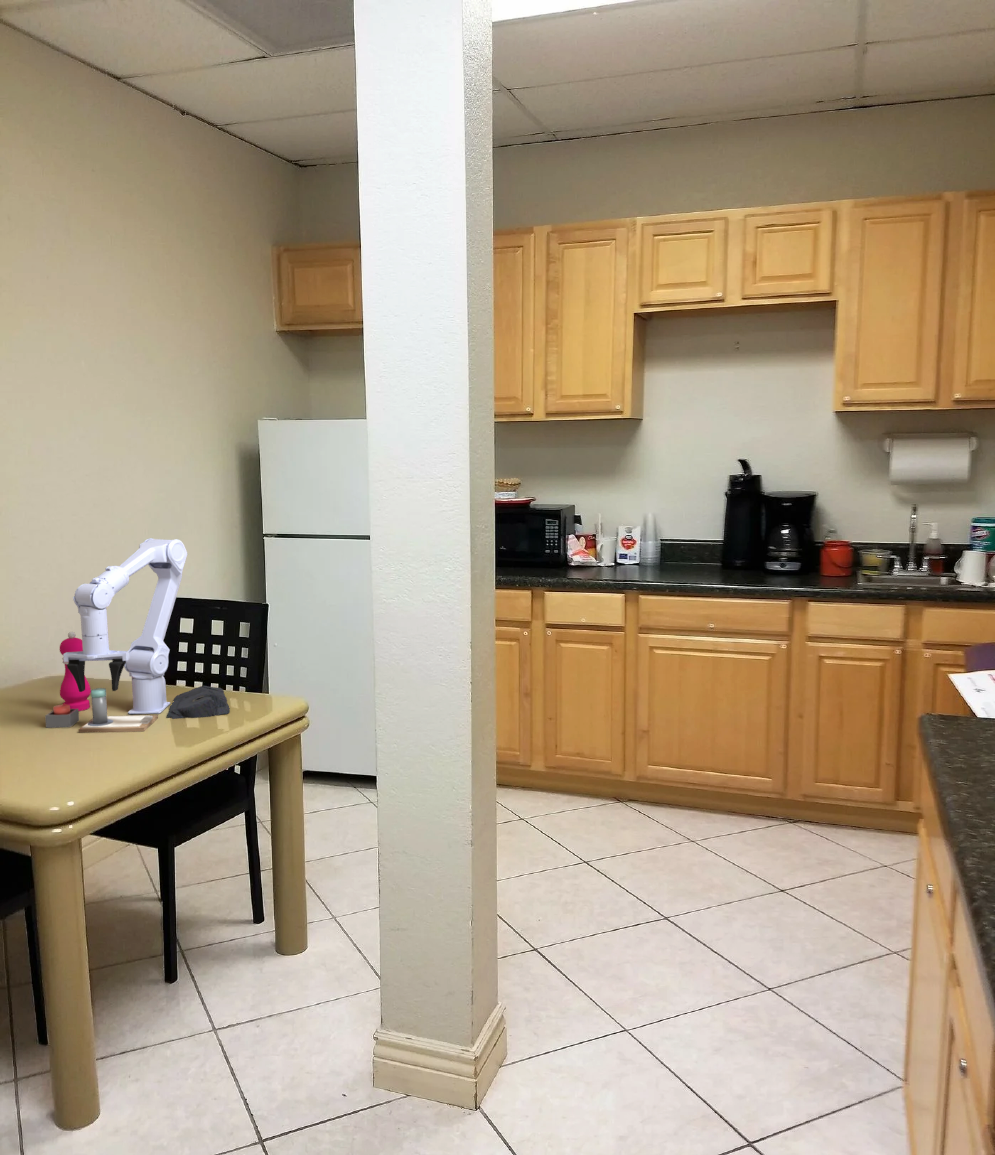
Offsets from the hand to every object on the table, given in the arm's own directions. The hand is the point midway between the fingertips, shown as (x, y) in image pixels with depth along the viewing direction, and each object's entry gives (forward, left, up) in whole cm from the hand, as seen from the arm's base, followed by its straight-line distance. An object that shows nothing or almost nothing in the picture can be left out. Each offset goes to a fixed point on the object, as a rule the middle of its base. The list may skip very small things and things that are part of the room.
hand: (98, 690), depth 222 cm
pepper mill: (-17, -12, -9) cm, 23 cm away
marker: (0, 0, -8) cm, 8 cm away
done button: (-3, -10, -7) cm, 12 cm away
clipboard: (-1, +4, -9) cm, 10 cm away
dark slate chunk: (-17, +19, -10) cm, 27 cm away
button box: (-3, -10, -9) cm, 14 cm away
